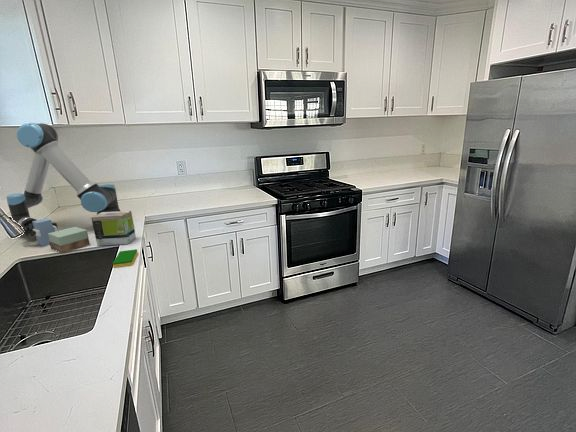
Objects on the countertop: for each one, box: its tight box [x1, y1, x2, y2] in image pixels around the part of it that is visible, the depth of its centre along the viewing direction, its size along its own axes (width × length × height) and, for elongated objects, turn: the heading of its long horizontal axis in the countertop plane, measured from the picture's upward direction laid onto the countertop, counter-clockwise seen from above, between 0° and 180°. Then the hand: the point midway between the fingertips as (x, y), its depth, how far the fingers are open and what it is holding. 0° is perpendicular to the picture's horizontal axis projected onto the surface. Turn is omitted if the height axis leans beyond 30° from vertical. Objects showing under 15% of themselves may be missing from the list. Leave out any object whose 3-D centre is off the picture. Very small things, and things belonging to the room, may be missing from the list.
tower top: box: [48, 226, 89, 246], centre depth 152 cm, size 12×12×4 cm
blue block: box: [32, 218, 54, 247], centre depth 157 cm, size 6×6×12 cm
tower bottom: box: [50, 237, 91, 254], centre depth 153 cm, size 12×12×4 cm
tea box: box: [90, 210, 137, 246], centre depth 156 cm, size 15×10×15 cm
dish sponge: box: [112, 249, 139, 269], centre depth 135 cm, size 7×14×2 cm, turn 16°
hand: (48, 231), depth 155 cm, fingers open, 6 cm apart
